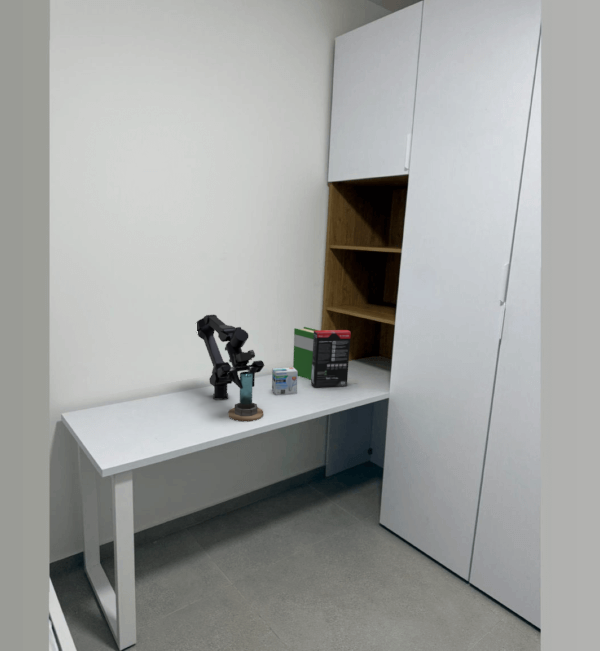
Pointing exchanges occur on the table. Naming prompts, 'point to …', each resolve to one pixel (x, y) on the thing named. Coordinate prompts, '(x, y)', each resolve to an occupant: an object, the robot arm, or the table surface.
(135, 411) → the table surface
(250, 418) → the socket dock
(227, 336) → the robot arm
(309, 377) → the hardback book
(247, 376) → the ball
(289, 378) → the light bulb box
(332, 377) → the graphics card box
